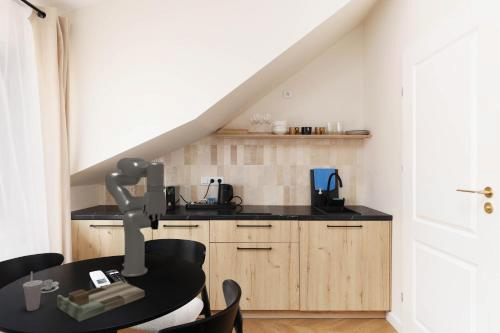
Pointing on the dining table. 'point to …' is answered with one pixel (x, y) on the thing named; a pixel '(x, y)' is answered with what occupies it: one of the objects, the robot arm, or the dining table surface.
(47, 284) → the teacup and saucer
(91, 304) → the board
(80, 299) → the walnut block
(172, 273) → the dining table surface
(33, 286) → the smoothie
